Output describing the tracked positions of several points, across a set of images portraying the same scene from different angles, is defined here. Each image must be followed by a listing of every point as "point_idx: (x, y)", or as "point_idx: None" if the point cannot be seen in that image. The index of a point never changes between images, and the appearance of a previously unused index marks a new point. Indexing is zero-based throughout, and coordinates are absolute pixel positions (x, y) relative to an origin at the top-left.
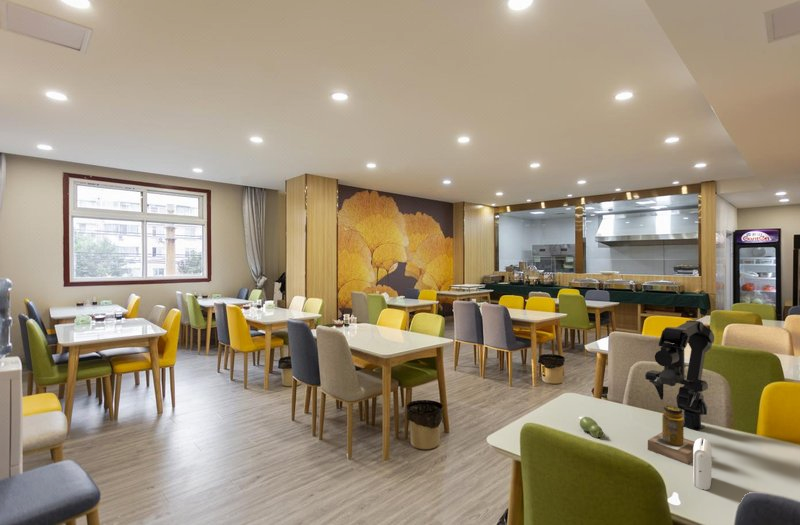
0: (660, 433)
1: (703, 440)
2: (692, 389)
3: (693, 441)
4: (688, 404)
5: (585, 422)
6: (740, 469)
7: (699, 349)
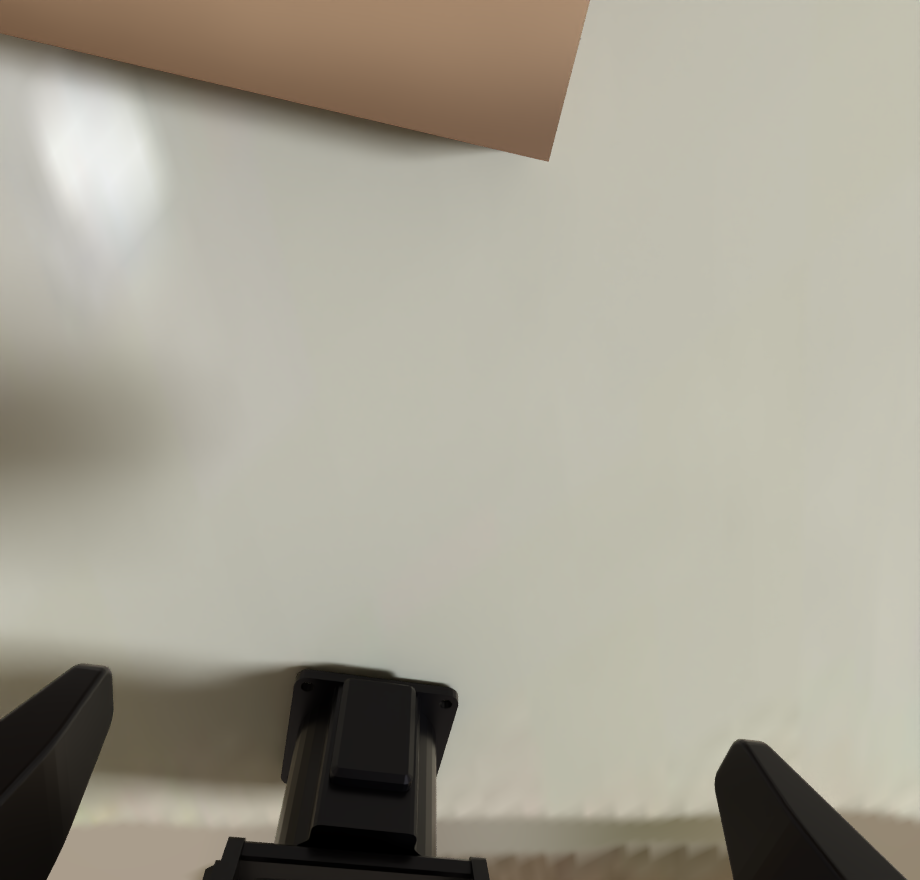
0: (576, 26)
1: None
2: None
3: (102, 50)
4: (72, 708)
5: None
6: None
7: None
